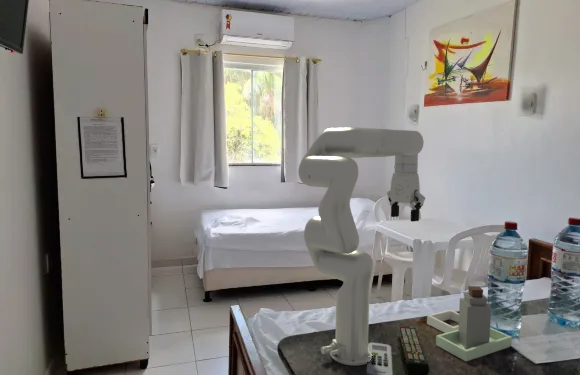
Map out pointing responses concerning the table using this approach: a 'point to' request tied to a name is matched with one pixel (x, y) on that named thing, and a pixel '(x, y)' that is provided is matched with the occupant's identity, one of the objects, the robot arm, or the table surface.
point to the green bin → (455, 347)
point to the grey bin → (438, 319)
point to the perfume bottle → (474, 318)
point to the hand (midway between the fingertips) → (404, 218)
